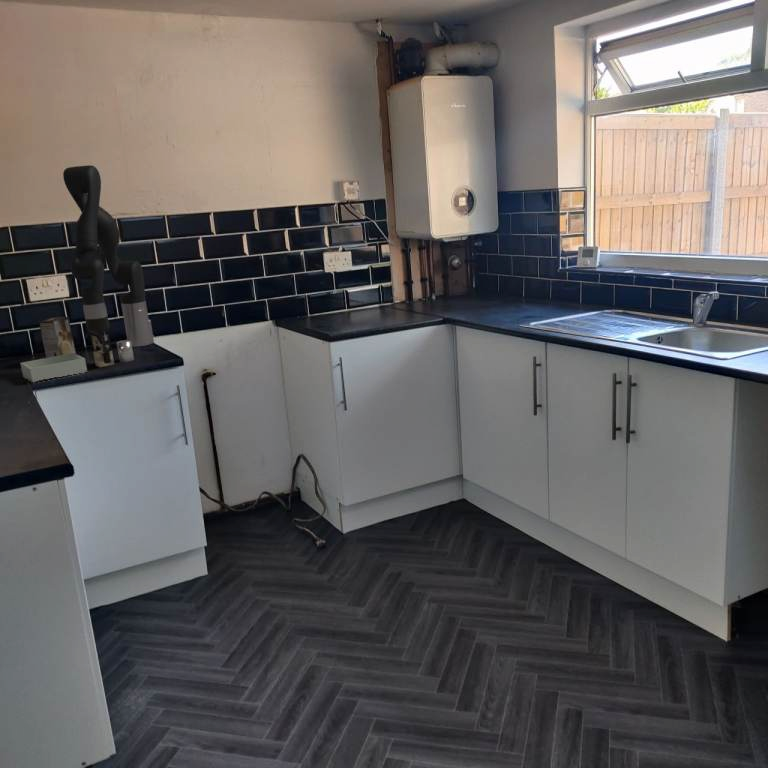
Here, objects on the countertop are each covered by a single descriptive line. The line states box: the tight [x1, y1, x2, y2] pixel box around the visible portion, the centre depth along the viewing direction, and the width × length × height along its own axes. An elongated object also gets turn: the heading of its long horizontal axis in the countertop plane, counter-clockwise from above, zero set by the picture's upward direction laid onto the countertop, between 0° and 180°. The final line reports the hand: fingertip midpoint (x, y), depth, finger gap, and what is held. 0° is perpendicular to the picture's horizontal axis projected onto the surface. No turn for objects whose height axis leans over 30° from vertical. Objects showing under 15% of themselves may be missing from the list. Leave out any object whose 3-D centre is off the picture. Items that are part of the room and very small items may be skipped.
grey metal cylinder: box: [116, 339, 135, 363], centre depth 263 cm, size 5×5×7 cm
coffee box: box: [38, 316, 77, 358], centre depth 268 cm, size 9×6×16 cm
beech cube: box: [92, 350, 115, 368], centre depth 259 cm, size 5×5×5 cm
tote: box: [20, 353, 88, 384], centre depth 249 cm, size 18×14×5 cm
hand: (104, 361), depth 259 cm, fingers open, 7 cm apart
